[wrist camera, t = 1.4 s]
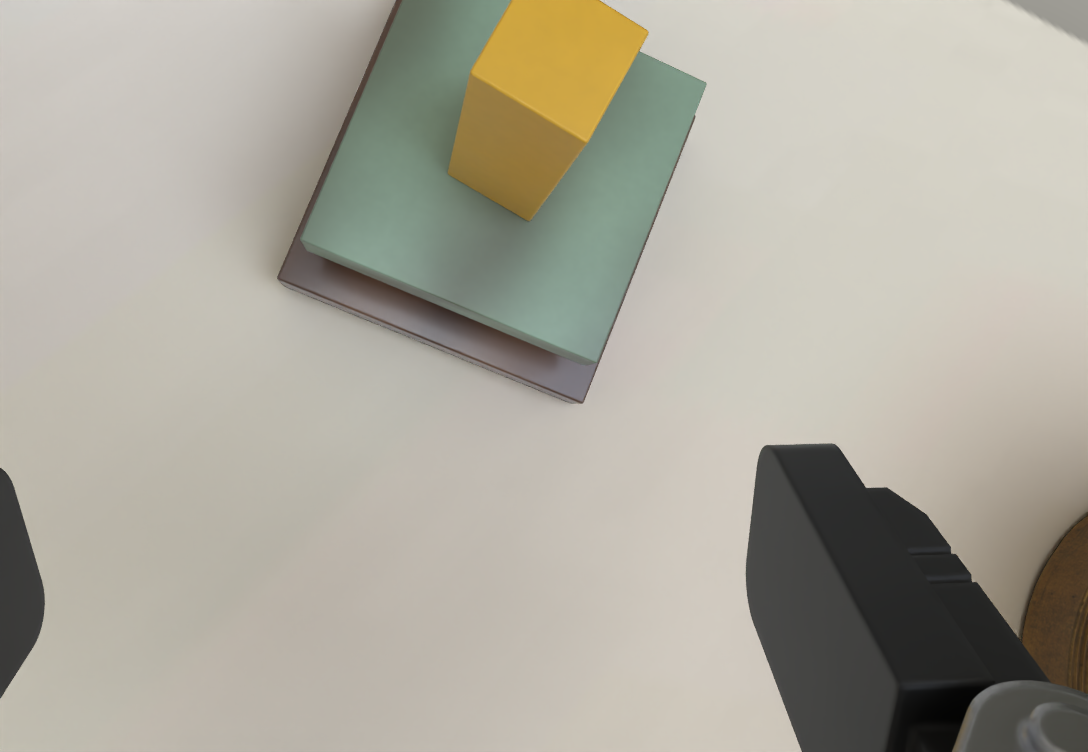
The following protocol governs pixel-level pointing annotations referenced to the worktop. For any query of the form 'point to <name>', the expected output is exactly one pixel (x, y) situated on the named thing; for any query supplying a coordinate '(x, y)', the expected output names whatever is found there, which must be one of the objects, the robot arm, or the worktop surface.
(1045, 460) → the worktop surface
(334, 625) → the worktop surface
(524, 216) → the bar
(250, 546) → the worktop surface
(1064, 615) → the wooden container
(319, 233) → the two-tone stepped base
